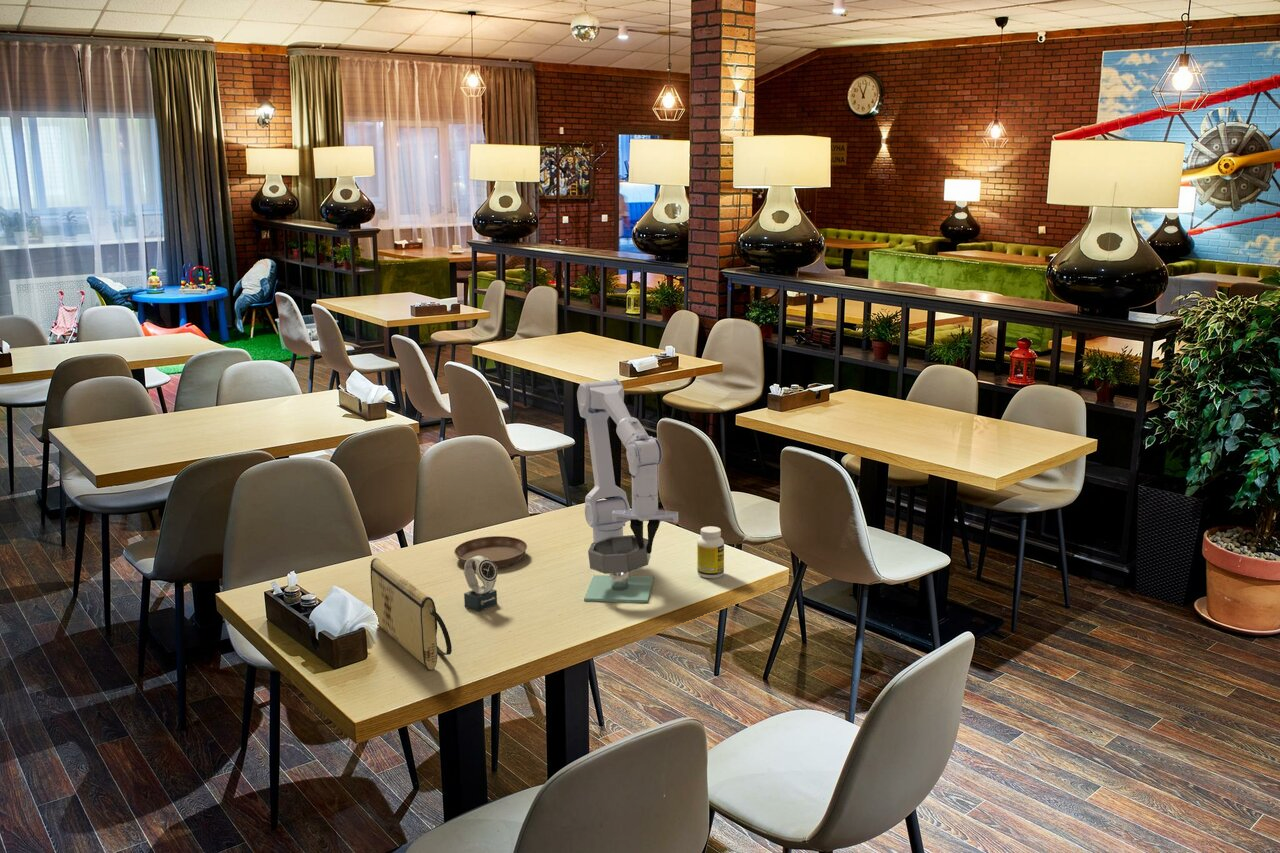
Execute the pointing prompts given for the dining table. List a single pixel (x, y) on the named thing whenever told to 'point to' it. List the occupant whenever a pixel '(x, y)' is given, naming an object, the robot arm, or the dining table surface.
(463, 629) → the dining table surface
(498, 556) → the plant saucer
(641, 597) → the teal board
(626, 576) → the post
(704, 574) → the pill bottle
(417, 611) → the clutch purse
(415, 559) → the dining table surface
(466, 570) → the watch
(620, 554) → the gunmetal ring
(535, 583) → the dining table surface
